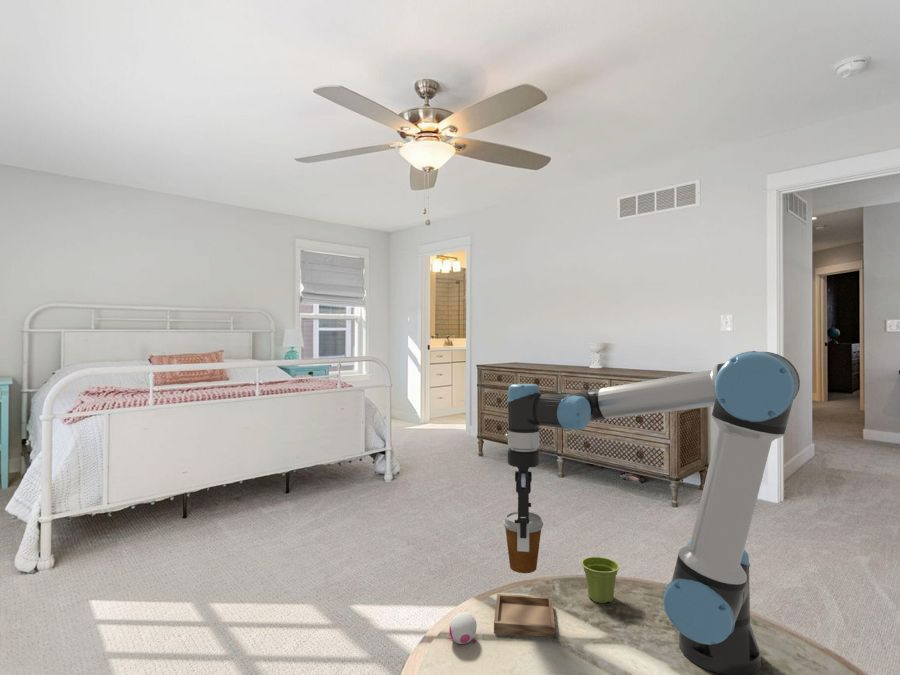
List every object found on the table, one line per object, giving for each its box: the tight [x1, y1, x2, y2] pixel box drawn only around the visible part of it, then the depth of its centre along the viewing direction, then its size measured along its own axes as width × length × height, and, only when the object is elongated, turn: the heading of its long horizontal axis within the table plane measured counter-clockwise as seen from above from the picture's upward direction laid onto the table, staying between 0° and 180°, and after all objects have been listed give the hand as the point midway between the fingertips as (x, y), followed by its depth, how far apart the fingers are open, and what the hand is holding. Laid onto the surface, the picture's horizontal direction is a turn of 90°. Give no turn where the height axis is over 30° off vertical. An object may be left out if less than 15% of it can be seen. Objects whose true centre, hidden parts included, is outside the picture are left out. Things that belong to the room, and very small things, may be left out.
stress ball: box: [446, 611, 478, 645], centre depth 110 cm, size 8×8×7 cm
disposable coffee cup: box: [502, 511, 544, 574], centre depth 120 cm, size 10×10×12 cm
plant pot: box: [581, 556, 620, 604], centre depth 129 cm, size 9×9×9 cm
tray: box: [493, 593, 556, 638], centre depth 119 cm, size 14×14×2 cm
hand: (523, 542), depth 120 cm, fingers closed on disposable coffee cup, 9 cm apart
